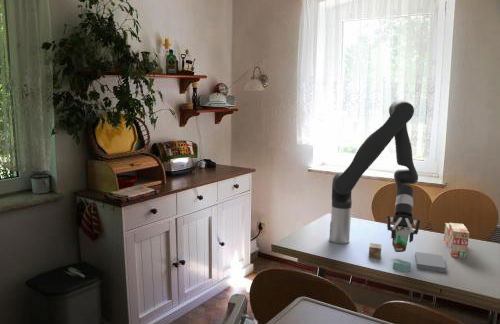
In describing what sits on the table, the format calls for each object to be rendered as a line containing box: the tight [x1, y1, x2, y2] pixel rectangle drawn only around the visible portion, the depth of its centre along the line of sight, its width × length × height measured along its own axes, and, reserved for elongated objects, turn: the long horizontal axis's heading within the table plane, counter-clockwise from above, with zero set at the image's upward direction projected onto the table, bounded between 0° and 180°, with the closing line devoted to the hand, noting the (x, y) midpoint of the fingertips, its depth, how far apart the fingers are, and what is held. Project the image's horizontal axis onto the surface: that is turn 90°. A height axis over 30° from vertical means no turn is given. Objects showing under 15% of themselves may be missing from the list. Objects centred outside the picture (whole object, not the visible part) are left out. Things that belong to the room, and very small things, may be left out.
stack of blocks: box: [443, 222, 470, 259], centre depth 193 cm, size 21×6×12 cm, turn 164°
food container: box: [391, 221, 411, 253], centre depth 179 cm, size 12×6×10 cm, turn 169°
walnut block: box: [368, 242, 382, 260], centre depth 183 cm, size 5×5×5 cm
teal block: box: [392, 258, 412, 273], centre depth 171 cm, size 6×4×3 cm, turn 56°
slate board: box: [414, 251, 447, 273], centre depth 176 cm, size 11×14×2 cm
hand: (402, 240), depth 178 cm, fingers closed on food container, 6 cm apart
